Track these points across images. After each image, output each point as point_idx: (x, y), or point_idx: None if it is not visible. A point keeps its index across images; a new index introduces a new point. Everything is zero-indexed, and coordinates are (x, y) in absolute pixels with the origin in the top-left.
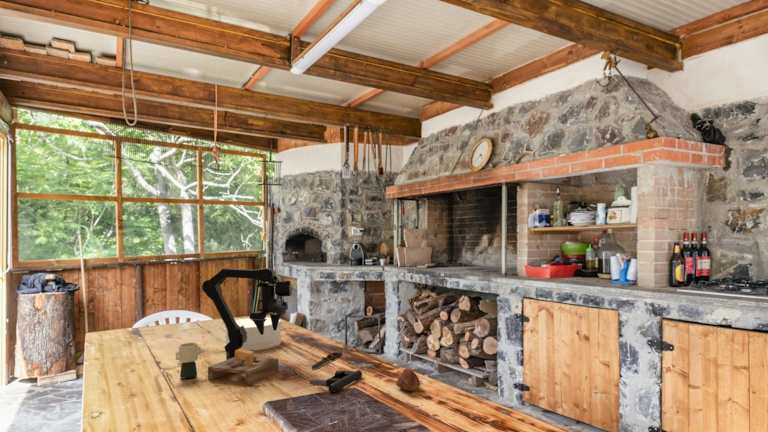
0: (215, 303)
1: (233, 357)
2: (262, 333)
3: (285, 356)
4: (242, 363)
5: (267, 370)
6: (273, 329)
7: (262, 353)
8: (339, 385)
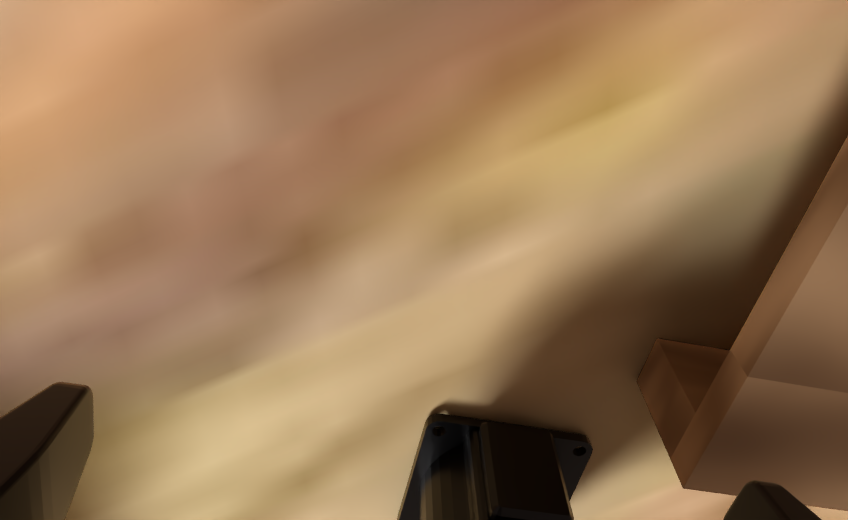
0: None
1: None
2: (809, 514)
3: (29, 8)
4: (682, 372)
5: None
6: (82, 470)
7: (7, 395)
8: None
